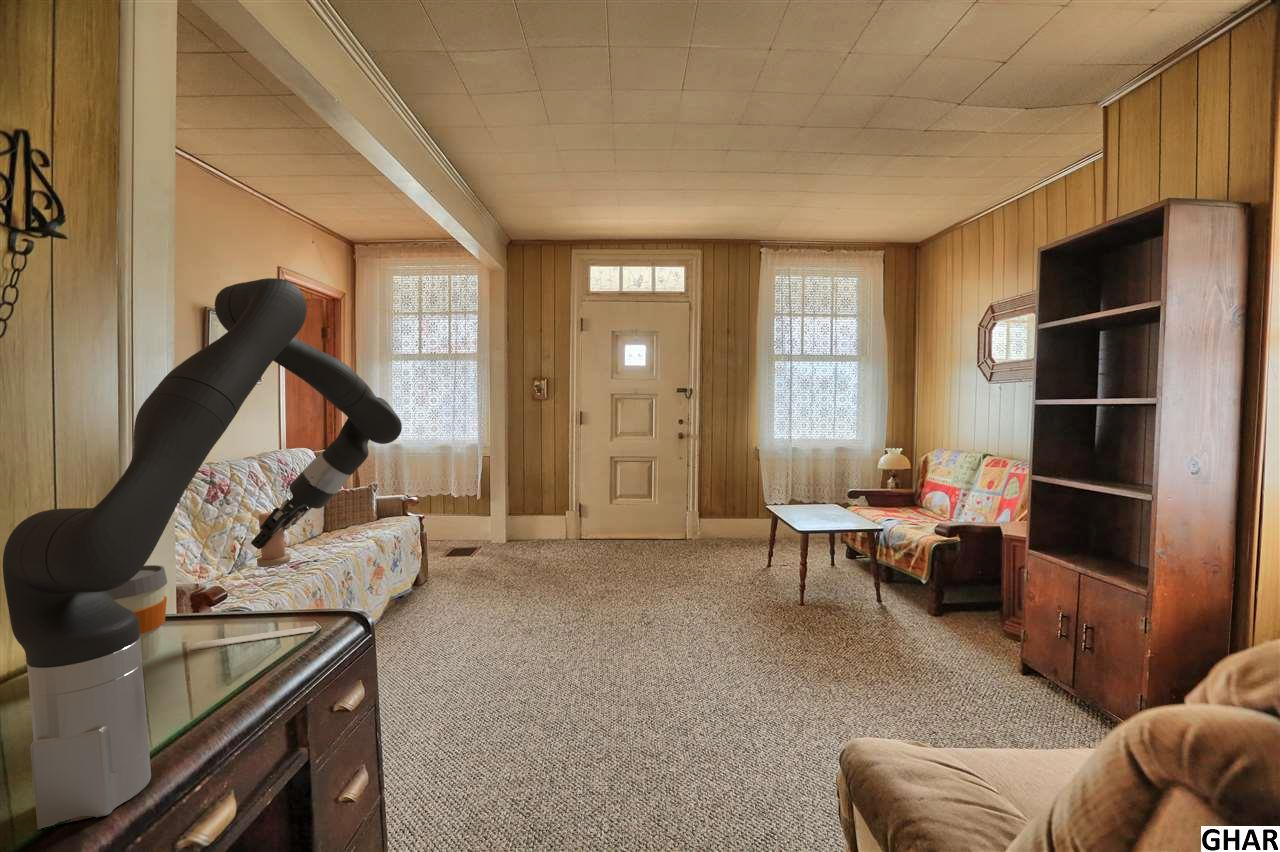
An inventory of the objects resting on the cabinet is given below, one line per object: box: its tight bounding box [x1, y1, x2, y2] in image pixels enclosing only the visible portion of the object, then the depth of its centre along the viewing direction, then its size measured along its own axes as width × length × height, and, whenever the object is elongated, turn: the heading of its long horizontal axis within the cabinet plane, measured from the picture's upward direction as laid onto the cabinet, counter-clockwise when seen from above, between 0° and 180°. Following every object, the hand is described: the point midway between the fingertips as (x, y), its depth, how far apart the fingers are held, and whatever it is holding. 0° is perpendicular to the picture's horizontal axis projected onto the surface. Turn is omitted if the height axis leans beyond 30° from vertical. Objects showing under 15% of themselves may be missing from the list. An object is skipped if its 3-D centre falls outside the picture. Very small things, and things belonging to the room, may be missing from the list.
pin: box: [256, 511, 291, 568], centre depth 114 cm, size 6×6×10 cm
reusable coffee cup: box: [107, 564, 168, 661], centre depth 102 cm, size 13×12×15 cm
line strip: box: [189, 625, 317, 651], centre depth 109 cm, size 3×20×1 cm, turn 108°
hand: (261, 542), depth 114 cm, fingers closed on pin, 4 cm apart
